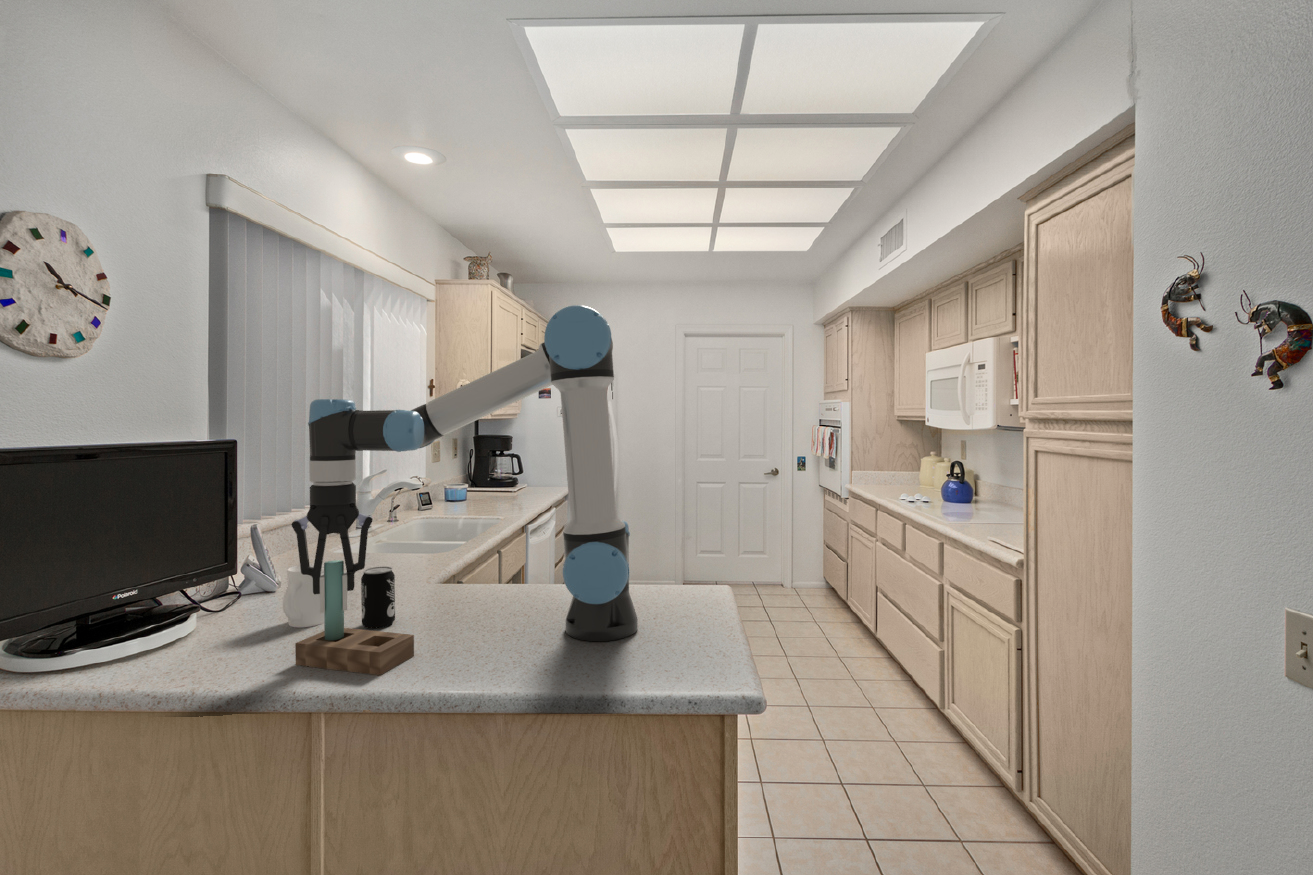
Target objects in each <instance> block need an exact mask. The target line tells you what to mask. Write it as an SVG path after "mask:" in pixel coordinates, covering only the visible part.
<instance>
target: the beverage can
mask: <svg viewBox="0 0 1313 875" xmlns="http://www.w3.org/2000/svg"><path fill="white" fill-rule="evenodd" d="M362 573H363V574H362V576H361V578H360V580H361V581H360V583H361V584H360V590H361V591H360V593H361V597H360V598H361V625H362V626H364V628H365V629H369V630H375V629H382V628H386V627H389V626H391V625H392V624H393V623H394V622H395V621H396V593H395V592H396V590H395V589H396V587H395V586H396V584H395V580H396V579H395V578H396V577H395V576H396V575H395V573H394V572H393V567H391V566H374V567H370V568H366V569H363V571H362Z"/></svg>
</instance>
